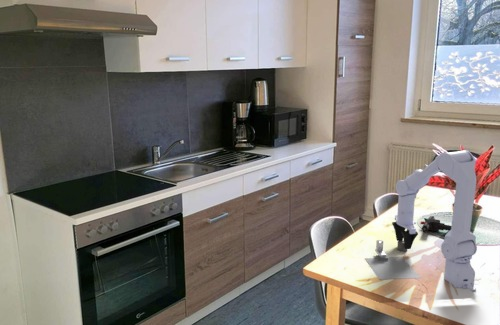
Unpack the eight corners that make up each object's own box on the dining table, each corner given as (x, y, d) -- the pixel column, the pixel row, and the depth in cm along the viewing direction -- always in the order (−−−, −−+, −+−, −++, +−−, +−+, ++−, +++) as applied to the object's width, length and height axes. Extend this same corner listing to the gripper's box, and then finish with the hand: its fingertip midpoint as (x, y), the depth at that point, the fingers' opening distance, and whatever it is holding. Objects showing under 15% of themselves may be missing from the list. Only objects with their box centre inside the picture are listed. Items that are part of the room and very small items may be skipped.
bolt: (386, 257, 159) (387, 245, 158) (379, 257, 159) (380, 246, 158) (381, 250, 164) (381, 239, 163) (374, 251, 164) (375, 239, 163)
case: (420, 281, 147) (421, 274, 146) (379, 283, 146) (379, 276, 145) (401, 260, 162) (401, 254, 162) (364, 262, 162) (364, 255, 161)
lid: (413, 261, 163) (414, 248, 162) (388, 257, 167) (388, 244, 165) (415, 251, 171) (416, 239, 169) (391, 247, 174) (392, 236, 173)
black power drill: (461, 218, 192) (425, 212, 200) (456, 228, 176) (417, 221, 184) (460, 229, 193) (424, 223, 201) (454, 240, 177) (415, 233, 184)
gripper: (424, 217, 158) (422, 252, 161) (408, 204, 172) (406, 236, 175) (405, 217, 157) (403, 252, 160) (390, 204, 171) (388, 237, 174)
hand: (403, 244), depth 168 cm, fingers open, 7 cm apart
